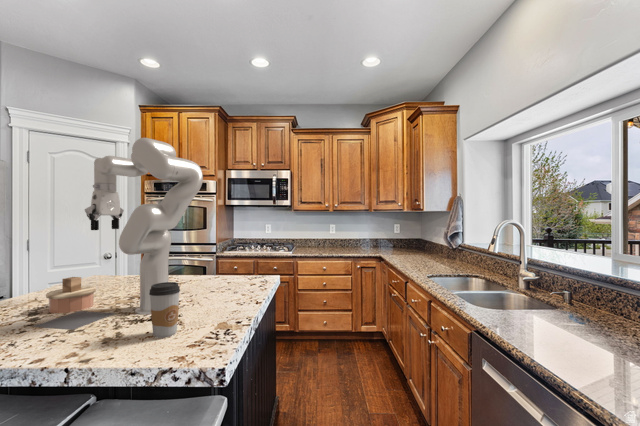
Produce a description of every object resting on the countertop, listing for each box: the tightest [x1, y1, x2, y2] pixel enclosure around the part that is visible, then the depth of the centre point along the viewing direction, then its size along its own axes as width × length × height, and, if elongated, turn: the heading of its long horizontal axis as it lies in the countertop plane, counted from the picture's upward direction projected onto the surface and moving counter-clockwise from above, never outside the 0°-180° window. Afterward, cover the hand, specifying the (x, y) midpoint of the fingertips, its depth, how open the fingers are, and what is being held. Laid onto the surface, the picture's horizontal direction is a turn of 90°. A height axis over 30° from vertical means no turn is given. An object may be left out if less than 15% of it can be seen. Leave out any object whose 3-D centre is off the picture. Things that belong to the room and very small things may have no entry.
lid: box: [45, 276, 97, 300], centre depth 118 cm, size 15×15×6 cm
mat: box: [31, 310, 117, 331], centre depth 105 cm, size 16×16×1 cm
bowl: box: [48, 293, 95, 314], centre depth 118 cm, size 13×13×6 cm
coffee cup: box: [149, 281, 181, 339], centre depth 93 cm, size 8×8×15 cm
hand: (105, 229), depth 127 cm, fingers open, 9 cm apart
